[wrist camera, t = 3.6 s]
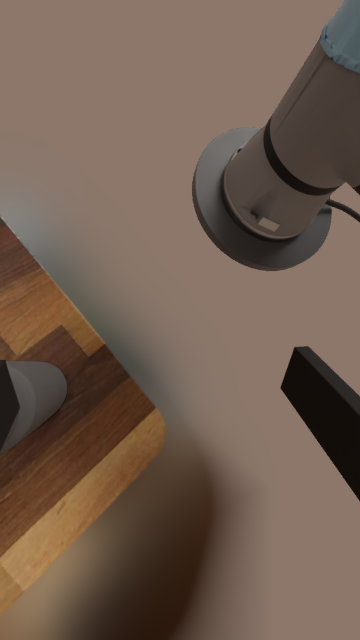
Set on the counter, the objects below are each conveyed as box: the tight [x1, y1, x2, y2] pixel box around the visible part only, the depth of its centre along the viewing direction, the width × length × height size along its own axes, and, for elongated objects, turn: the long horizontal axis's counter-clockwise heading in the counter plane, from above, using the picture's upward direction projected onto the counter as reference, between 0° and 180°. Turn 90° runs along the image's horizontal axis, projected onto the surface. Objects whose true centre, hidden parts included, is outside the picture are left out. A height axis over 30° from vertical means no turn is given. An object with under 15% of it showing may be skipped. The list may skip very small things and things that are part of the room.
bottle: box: [0, 361, 67, 454], centre depth 19 cm, size 6×6×15 cm
